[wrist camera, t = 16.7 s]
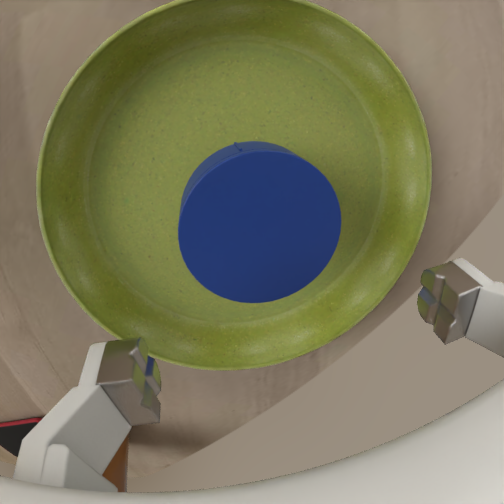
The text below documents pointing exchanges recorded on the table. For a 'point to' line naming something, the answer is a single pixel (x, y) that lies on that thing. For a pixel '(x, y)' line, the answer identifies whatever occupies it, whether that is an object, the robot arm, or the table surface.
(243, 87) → the saucer
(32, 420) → the smartphone
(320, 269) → the jar lid
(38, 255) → the table surface
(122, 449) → the jar
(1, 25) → the table surface
